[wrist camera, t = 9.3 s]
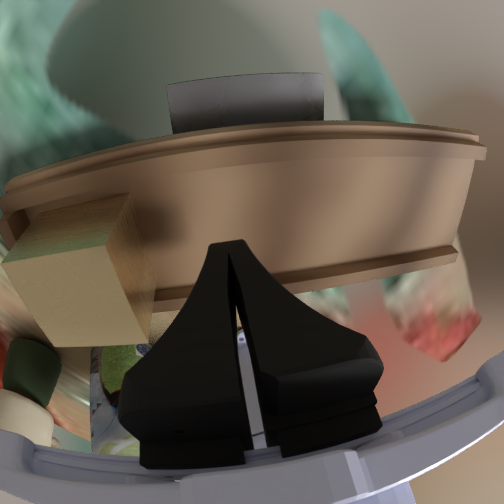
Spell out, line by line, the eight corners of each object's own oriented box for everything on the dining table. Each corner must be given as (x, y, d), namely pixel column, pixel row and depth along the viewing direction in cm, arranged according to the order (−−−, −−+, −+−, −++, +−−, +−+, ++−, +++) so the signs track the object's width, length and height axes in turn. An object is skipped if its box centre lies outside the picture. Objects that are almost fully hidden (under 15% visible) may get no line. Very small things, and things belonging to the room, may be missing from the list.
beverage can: (81, 332, 22) (57, 459, 13) (150, 315, 22) (142, 464, 13) (118, 370, 26) (110, 481, 17) (182, 357, 26) (188, 481, 16)
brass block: (75, 290, 14) (54, 346, 11) (39, 212, 11) (0, 263, 8) (156, 281, 15) (148, 343, 12) (130, 192, 12) (105, 245, 9)
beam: (76, 289, 17) (59, 335, 14) (25, 167, 12) (-14, 200, 9) (428, 240, 19) (459, 274, 16) (453, 123, 14) (498, 146, 11)
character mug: (-13, 324, 20) (-50, 430, 10) (19, 308, 20) (-24, 438, 10) (52, 382, 27) (36, 479, 16) (91, 374, 26) (78, 487, 16)
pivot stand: (202, 278, 21) (203, 309, 18) (167, 84, 13) (159, 88, 11) (312, 261, 22) (326, 289, 19) (317, 73, 14) (340, 76, 11)
